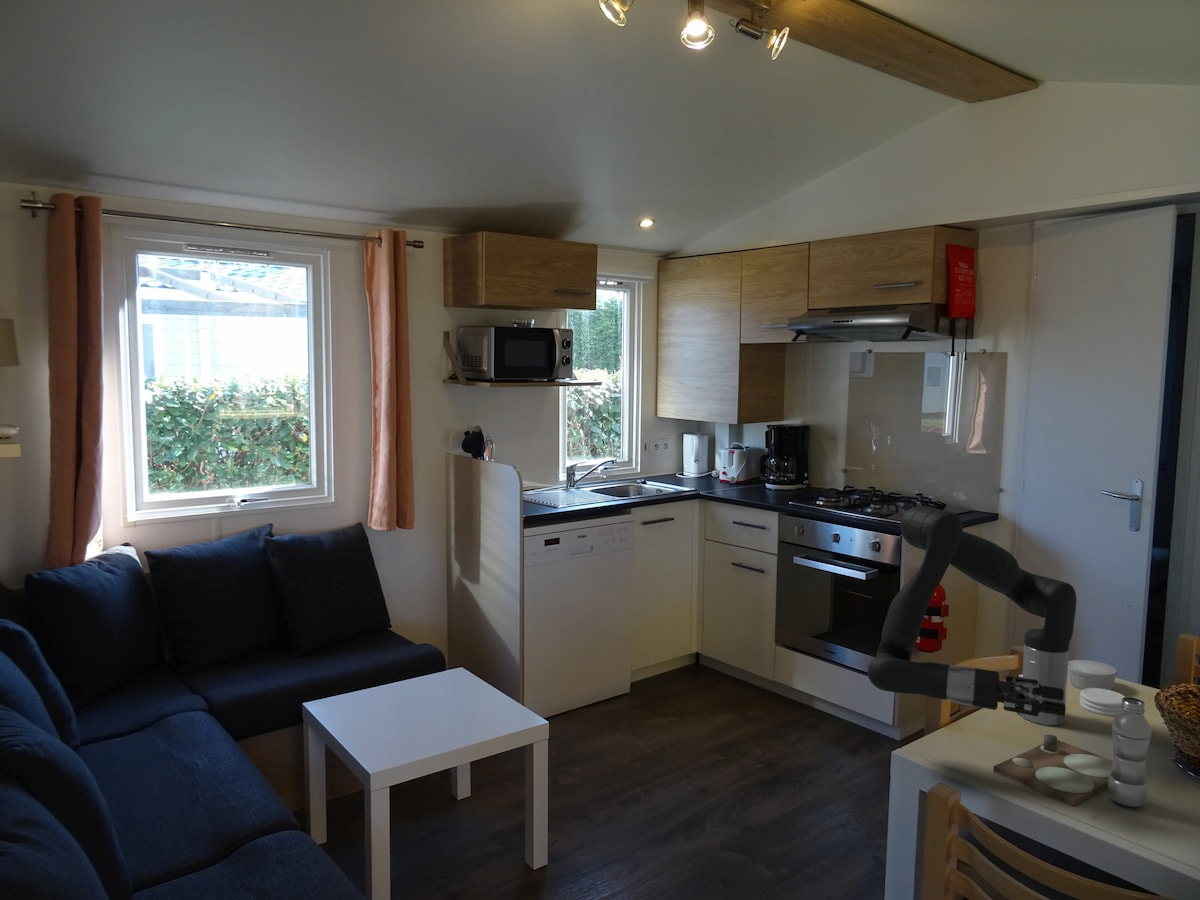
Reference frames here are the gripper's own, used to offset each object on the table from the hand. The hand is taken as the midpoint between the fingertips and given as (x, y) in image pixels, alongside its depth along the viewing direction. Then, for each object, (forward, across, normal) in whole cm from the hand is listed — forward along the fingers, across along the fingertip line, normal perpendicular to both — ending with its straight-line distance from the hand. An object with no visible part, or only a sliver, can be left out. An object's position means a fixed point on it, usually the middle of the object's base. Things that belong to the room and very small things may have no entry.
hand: (1064, 702), depth 160 cm
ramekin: (+10, +65, +17) cm, 68 cm away
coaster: (+11, +50, +17) cm, 54 cm away
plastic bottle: (+11, +1, +18) cm, 21 cm away
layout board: (+1, +9, +18) cm, 20 cm away
